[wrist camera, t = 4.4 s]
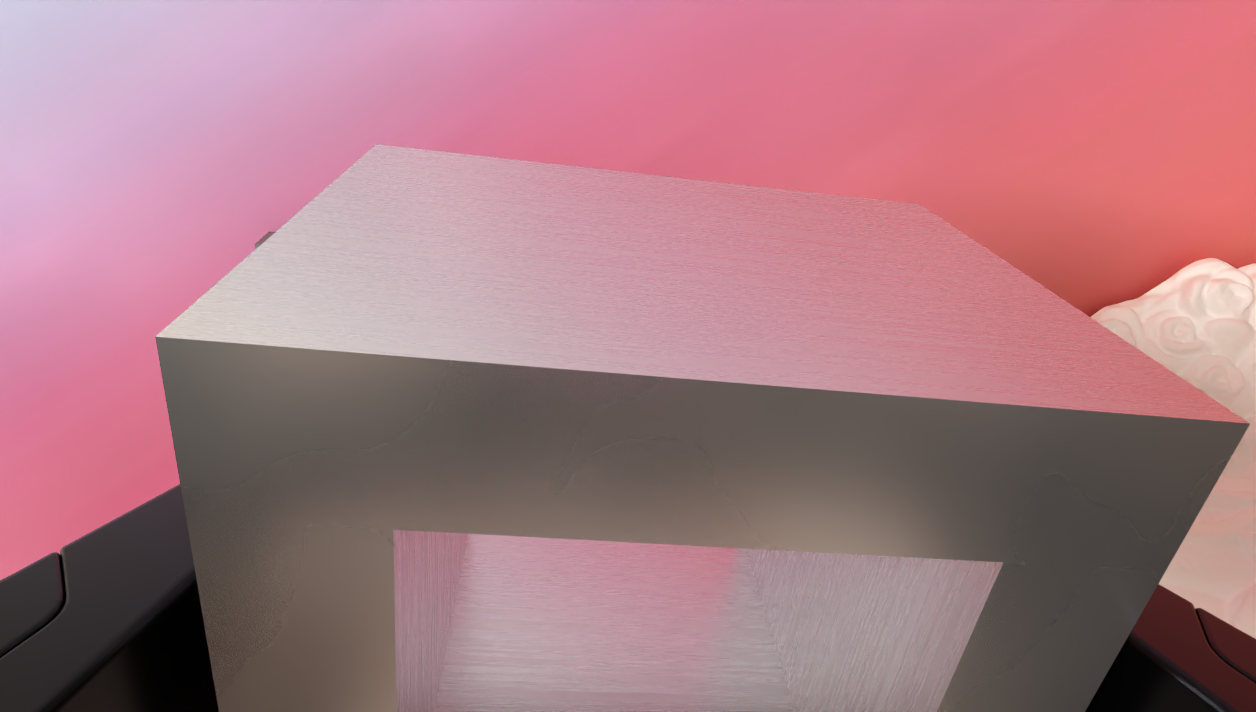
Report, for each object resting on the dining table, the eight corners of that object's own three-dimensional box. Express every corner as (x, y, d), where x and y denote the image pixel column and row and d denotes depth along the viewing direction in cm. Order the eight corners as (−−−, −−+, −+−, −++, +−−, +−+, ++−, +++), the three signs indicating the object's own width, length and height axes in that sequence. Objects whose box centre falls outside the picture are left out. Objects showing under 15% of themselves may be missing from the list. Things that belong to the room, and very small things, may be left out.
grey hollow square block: (801, 599, 12) (936, 969, 8) (385, 579, 11) (264, 978, 7) (920, 204, 9) (1249, 423, 5) (376, 144, 8) (155, 336, 4)
